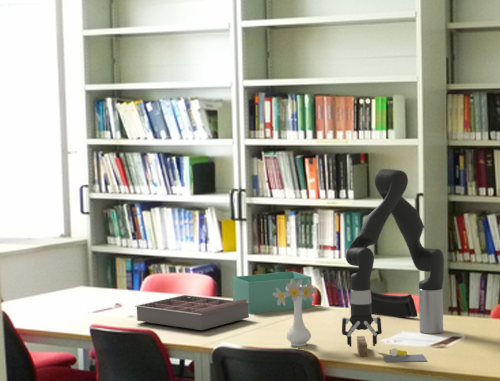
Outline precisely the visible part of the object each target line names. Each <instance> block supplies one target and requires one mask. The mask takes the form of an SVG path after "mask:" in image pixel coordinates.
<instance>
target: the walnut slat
mask: <svg viewBox="0 0 500 381" xmlns="http://www.w3.org/2000/svg"><path fill="white" fill-rule="evenodd" d="M356 349H357V352H358V356H359V358H365V357H366V358H367V357H368V343H367V340H366V337H365V336H363V335H360V336H359V335H358V336H356Z"/></svg>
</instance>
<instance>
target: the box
mask: <svg viewBox="0 0 500 381" xmlns="http://www.w3.org/2000/svg"><path fill="white" fill-rule="evenodd" d="M231 278H232V300H233V301H236V300H240V299H245V298H246V302H250V304H248V306H249V315H250V314H258V313H269V312H278V311H287V310H288V311H289V310H294V302H293V301H292V298H291V297H292V296H288V297H285V306H284V305H283V304H282V302H281V304H280V305H279V306H278V305H277V300H278V298H276V297H274V296H273V295H272V293H277V291H276V288H278V289H279V290H280V292H282V293H283V294H284V293H285V292H287V290H285V288H286V286H287V284H288V283H290V280H291V279H294V280H295V282H296V284H297V282H298V281H299V280H302V283H301V284H302V286H304V285H307V283H308V279H309V281H310V282H311V285H312V276H309V275H307V274H303V273H299V272H296V271H285V272H284V271H282V272H270V273H261V274H250V275H249V274H248V275H240V276H239V275H238V276H232V277H231ZM312 286H313V285H312ZM305 288H306V287H305ZM301 291H302V290H301ZM311 295H312V296H313V294H311ZM303 296H304V295H303ZM306 308H313V301H311V300H310V299H309V298H307V300H306V301H304V299H302V309H306Z"/></svg>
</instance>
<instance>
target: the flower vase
mask: <svg viewBox="0 0 500 381" xmlns="http://www.w3.org/2000/svg"><path fill="white" fill-rule="evenodd" d="M301 283H302V280H299V281H298V282H297V284H296V282H295V280H294V279H291V280H290V283H288V284H287V286H286V288H285V290H287V292H285V293H284V294H283V293H282V292H280V290H279V289H278V288H276V291H277V293H272V295H273V296H274V297H276V298H278V300H277V305H278V306H279V305H280V304H281V302H282V304H283V305H284V306H285V297H288V296H292V297H291V298H292V301H293V302H294V309H293V323H292V325H291V327H290V329H288V331H287V333H286V339H287V341H289V342H290V345H291V346H292V347H305V346H307V345H308V342H310V340H311V338H312V334H311V332H310V330H309V328H307V327H306V326H305V323H304V320H303V308H302V299H304V301H306V300H307V298H309V299H310V300H311V301H312V302H315V298H314V295H313V294H315V295H318V293H317V288H315V287H313V285H311V282H310V281H309V279H308V283H307V285H304V286H302V284H301ZM305 287H306V288H305ZM301 290H302V291H301ZM311 294H312V295H311ZM303 295H304V296H303Z"/></svg>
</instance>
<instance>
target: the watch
mask: <svg viewBox="0 0 500 381" xmlns="http://www.w3.org/2000/svg"><path fill="white" fill-rule="evenodd" d="M388 355H392V356H393V357H395V356H397V355H408V354H407V350H402V349H401V350H400V349H397V348H391V349H389V354H388Z"/></svg>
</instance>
